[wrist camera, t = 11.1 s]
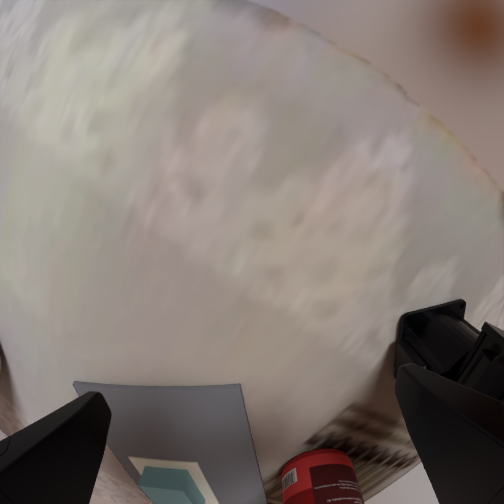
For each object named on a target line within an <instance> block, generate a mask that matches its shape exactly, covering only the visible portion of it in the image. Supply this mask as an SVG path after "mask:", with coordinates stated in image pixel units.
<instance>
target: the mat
mask: <svg viewBox="0 0 504 504" xmlns="http://www.w3.org/2000/svg"><path fill="white" fill-rule="evenodd" d="M73 386H74V388H75V390H76V392H77V394H78V396H79V397H80V396H82V395H83V394H85V393H87V392H88V391H97V392H101V393H102V394H103V396H104V398H105V400H106V402H107V404H108V406H109V407H110V409H111V413H112V418H111V422H110V427H109V431H108V436H107V441H106V443H107V444H108V446H109V447H110V449H111V450H112V452H113V453H114V455H115V456H116V457H117V459H118V460H119V462H120V463H121V464H122V466H123V467H124V468H125V470H126V471H127V472H128V474H129V475H130V476H131V477H132V479H133V480H134V481H135V482H136V484H137V485H138V486H139V482H140V479H141V476H142V473H143V470H144V467H145V466H151V467H160V468H171V469H185V470H188V472H189V474H190V475H191V477H192V479H193V480H194V482H195V484H196V485H197V487H198V489H199V490H200V492H201V494H202V495H203V497H204V498H205V504H267V498H266V494H265V490H264V486H263V482H262V478H261V474H260V470H259V466H258V461H257V457H256V453H255V449H254V444H253V440H252V436H251V431H250V427H249V422H248V418H247V413H246V408H245V404H244V399H243V394H242V390H241V385H240V384H231V385H213V386H181V387H158V386H127V385H110V384H98V383H87V382H78V381H74V383H73ZM140 489H141V488H140ZM141 490H142V489H141ZM142 491H143V490H142ZM143 492H144V491H143ZM145 495H146V494H145ZM146 496H147V495H146ZM147 497H148V496H147ZM148 498H149V497H148ZM149 499H150V498H149Z"/></svg>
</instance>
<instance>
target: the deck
mask: <svg viewBox="0 0 504 504" xmlns="http://www.w3.org/2000/svg"><path fill="white" fill-rule="evenodd" d="M139 487H140V488H141V489H142V490H143V491H144V493H145V494H146V495H147V496H148V497H149V498H150V500H151V501H152V502H153V503H154V504H205V498H204V497H203V495H202V494H201V492H200V490H199V489H198V487H197V485H196V484H195V482H194V480H193V479H192V477H191V475H190V474H189V472H188V470H185V469H171V468H160V467H151V466H145V467H144V470H143V473H142V476H141V479H140V482H139Z"/></svg>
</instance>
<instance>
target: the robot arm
mask: <svg viewBox="0 0 504 504" xmlns="http://www.w3.org/2000/svg"><path fill="white" fill-rule="evenodd" d="M460 305H461V306H460ZM465 308H466V302H465V301H464V300H462V299H458V300H455V301H451V302H447V303H443V304H440V305H436V306H432V307H428V308H424V309H420V310H416V311H411V312H407V313H405V314H404V315H403V316H402V318H401V326H400V336H399V340H398V342H397V348H396V355H395V363H394V367H395V372H394V378H395V379H396V384H395V393H396V397H397V399H398V402H399V405H400V408H401V411H402V414H403V417H404V420H405V423H406V426H407V429H408V432H409V435H410V437H411V439H412V441H413V444H414V446H415V448H416V450H417V452H418V455H419V457H420V459H421V461H422V463H423V466H424V469H425V470H426V473H427V475H428V477H429V480H430V482H431V484H432V487H433V489H434V491H435V494H436V497H437V499H438V502H439V504H504V331H503V330H501V329H499V328H497V327H495V326H493V325H491V324H489V323H487V322H485V323H484V324H483V326H482V328H481V329H482V330H481V332H480V331H479V330H477V329H476V328H475V327H473V326H472V325H471V324H470V323H468V322H467V321H466V320H465V319H464V314H465ZM408 318H409V320H408V321H406V320H407V319H408ZM111 418H112V413H111V409H110V407H109V406H108V404H107V402H106V400H105V398H104V396H103V394H102V393H101V392H97V391H88V392H87V393H85V394H83V395H82V396H80V397H78V398H76V399H75V400H73V401H71V402H70V403H68V404H66V405H64V406H63V407H61V408H59V409H57V410H56V411H54V412H52V413H50V414H49V415H47V416H45V417H43V418H42V419H40V420H38V421H36V422H34V423H33V424H31V425H29V426H27V427H25V428H24V429H22V430H20V431H18V432H16V433H14V434H13V435H12V436H9V437H7V438H5V439H3V440H1V441H0V504H89V502H90V499H91V495H92V492H93V488H94V485H95V481H96V478H97V475H98V471H99V468H100V465H101V462H102V458H103V455H104V451H105V446H106V441H107V436H108V431H109V427H110V422H111Z"/></svg>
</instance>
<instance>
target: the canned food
mask: <svg viewBox="0 0 504 504" xmlns="http://www.w3.org/2000/svg"><path fill="white" fill-rule="evenodd" d="M281 479H282V493H283V504H364V501H363V498H362V494H361V491H360V487H359V484H358V481H357V477H356V474H355V471H354V468H353V464H352V461H351V460H350V458H349V457H348V456H347V454H345V453H344V452H343V451H340V450H336V449H318V450H312V451H309V452H306V453H303V454H300V455H298V456H296V457H294V458H293V459H291V460H290V461H289V462H288V463H287V464H286V465H285V466H284V469H283V472H282V475H281Z"/></svg>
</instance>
